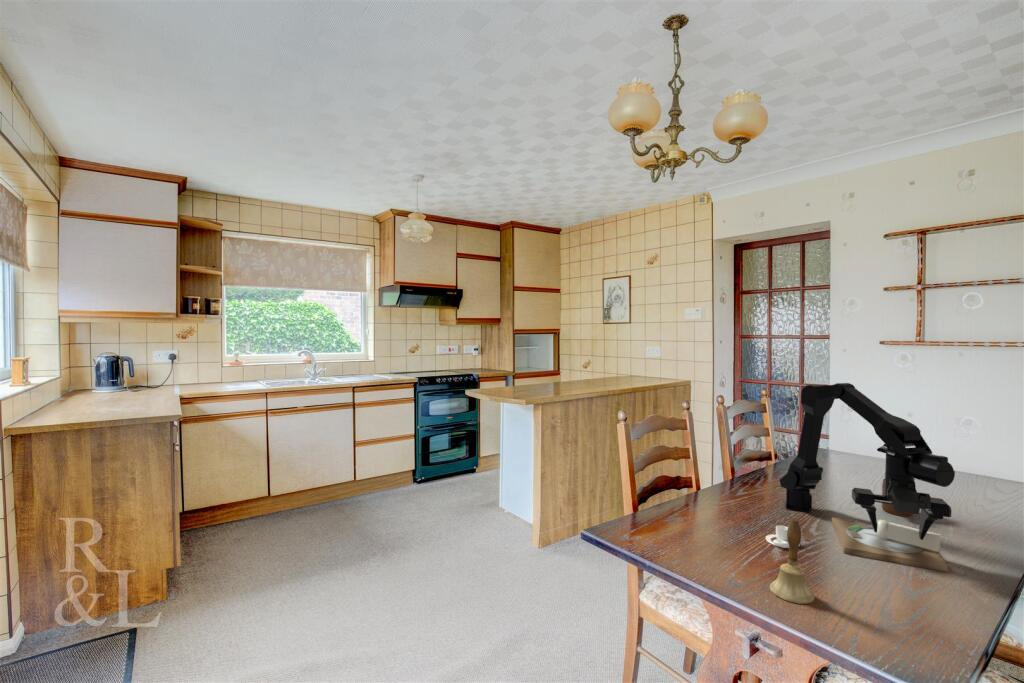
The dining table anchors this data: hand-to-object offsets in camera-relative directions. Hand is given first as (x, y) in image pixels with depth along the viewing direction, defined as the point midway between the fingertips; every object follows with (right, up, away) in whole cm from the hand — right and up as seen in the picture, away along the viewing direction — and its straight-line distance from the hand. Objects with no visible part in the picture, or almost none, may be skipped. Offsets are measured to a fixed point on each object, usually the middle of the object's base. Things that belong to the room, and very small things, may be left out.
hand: (897, 535), depth 120 cm
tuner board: (0, -4, +5) cm, 7 cm away
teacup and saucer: (-28, -5, +7) cm, 29 cm away
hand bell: (-37, -5, -18) cm, 41 cm away
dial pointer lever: (+2, -3, +4) cm, 5 cm away
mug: (+20, -4, +26) cm, 33 cm away
